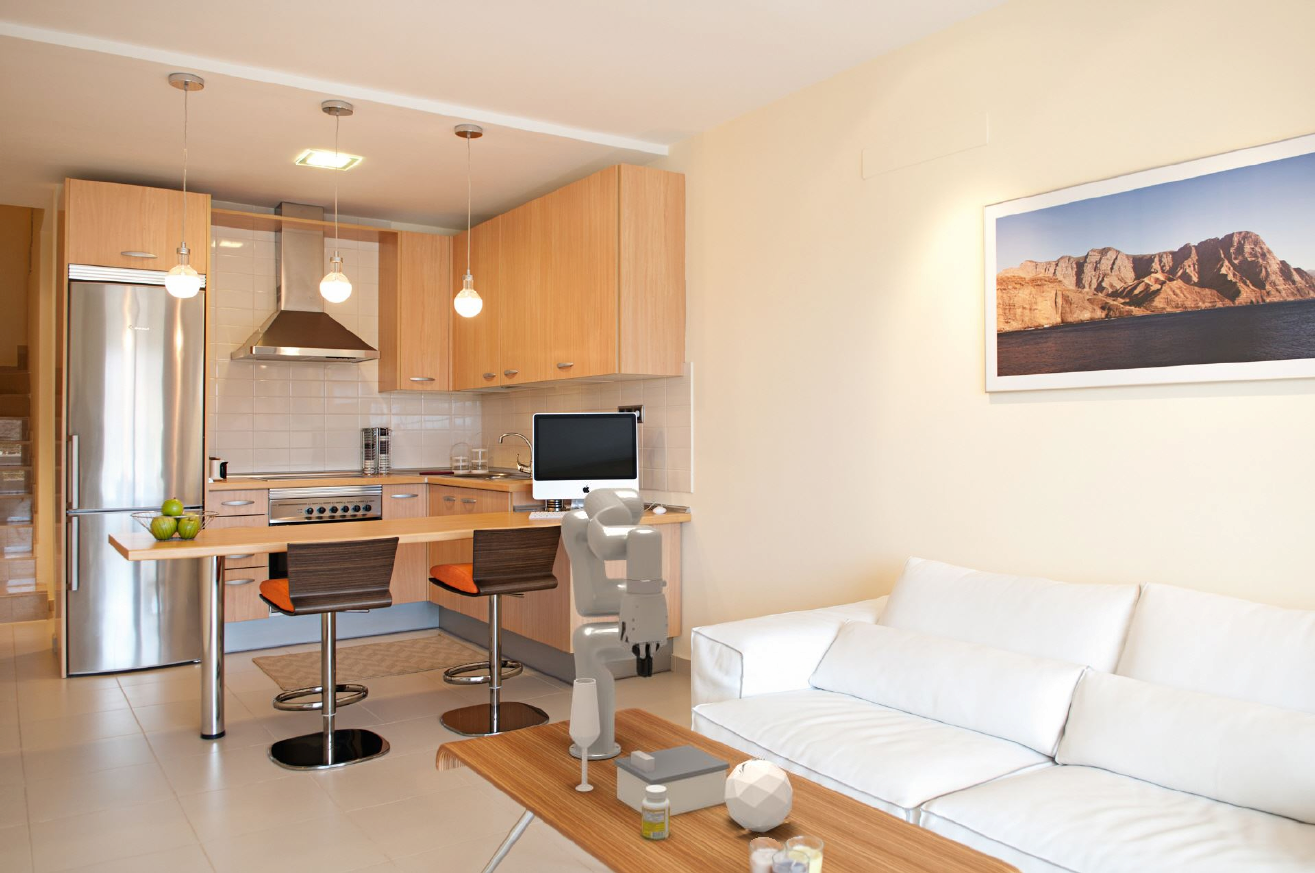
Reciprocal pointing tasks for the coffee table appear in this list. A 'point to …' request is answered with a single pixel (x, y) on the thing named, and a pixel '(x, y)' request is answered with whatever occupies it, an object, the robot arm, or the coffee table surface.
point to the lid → (670, 764)
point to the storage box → (675, 791)
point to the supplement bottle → (655, 813)
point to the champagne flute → (584, 721)
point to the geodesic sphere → (758, 795)
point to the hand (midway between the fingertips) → (644, 675)
